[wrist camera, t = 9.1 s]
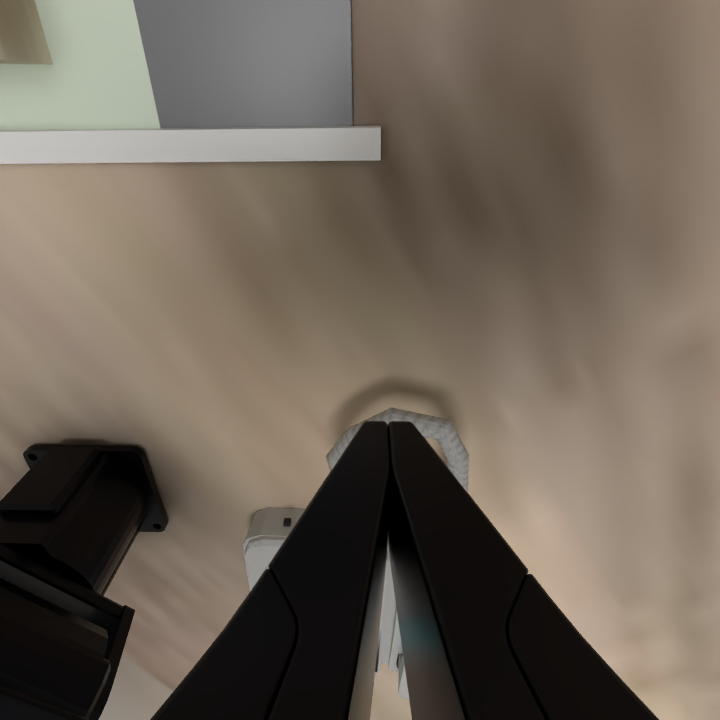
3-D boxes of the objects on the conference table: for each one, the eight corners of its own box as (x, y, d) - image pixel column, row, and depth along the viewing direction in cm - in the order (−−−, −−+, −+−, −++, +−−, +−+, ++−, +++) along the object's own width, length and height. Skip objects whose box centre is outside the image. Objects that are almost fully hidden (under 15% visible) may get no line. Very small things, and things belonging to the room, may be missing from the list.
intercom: (525, 436, 18) (446, 713, 31) (498, 378, 22) (438, 646, 34) (201, 423, 18) (256, 705, 31) (231, 368, 22) (269, 639, 34)
